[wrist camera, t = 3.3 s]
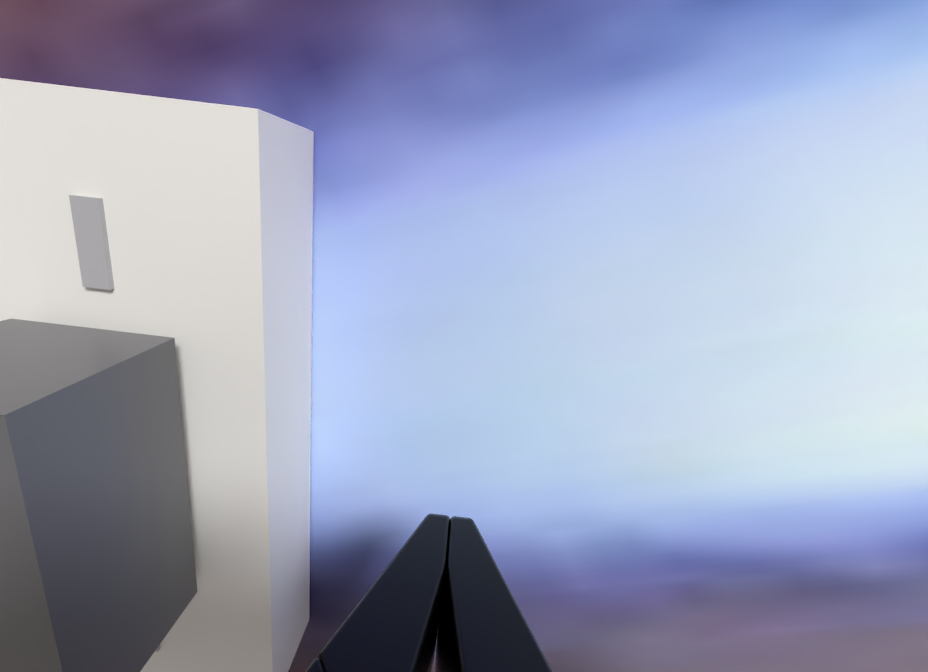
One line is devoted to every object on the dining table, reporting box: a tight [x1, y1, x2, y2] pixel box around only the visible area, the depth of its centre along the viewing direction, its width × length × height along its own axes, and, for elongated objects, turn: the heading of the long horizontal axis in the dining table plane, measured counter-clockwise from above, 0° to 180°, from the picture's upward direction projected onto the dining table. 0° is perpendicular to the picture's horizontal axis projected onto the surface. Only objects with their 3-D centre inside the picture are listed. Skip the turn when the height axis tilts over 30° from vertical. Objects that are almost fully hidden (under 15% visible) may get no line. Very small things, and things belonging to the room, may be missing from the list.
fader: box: [0, 319, 197, 672], centre depth 7 cm, size 3×6×3 cm, turn 174°
